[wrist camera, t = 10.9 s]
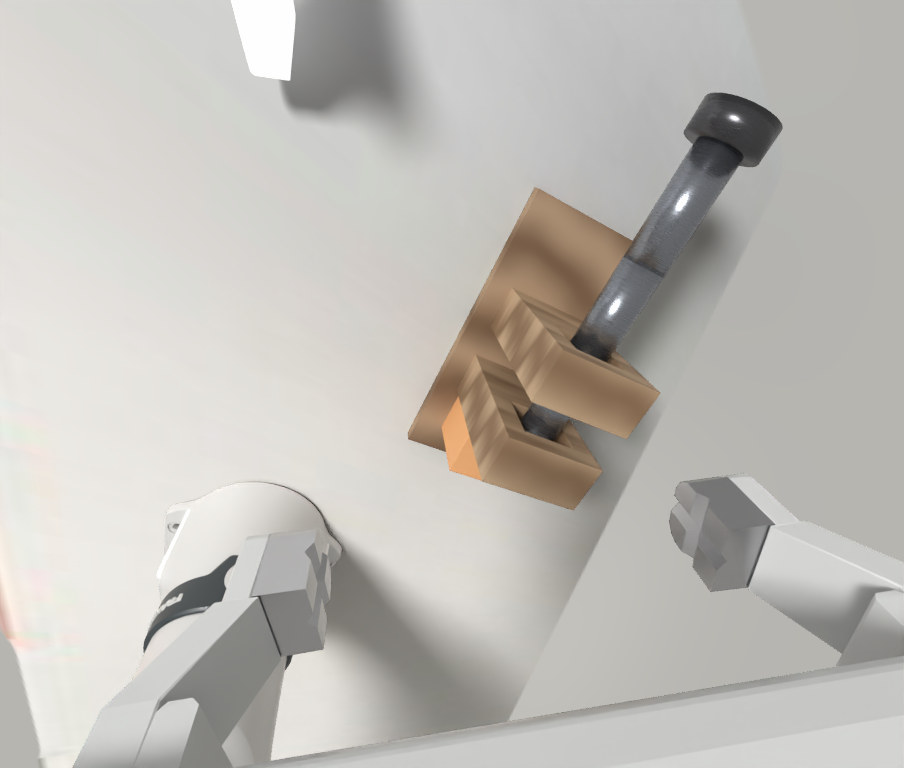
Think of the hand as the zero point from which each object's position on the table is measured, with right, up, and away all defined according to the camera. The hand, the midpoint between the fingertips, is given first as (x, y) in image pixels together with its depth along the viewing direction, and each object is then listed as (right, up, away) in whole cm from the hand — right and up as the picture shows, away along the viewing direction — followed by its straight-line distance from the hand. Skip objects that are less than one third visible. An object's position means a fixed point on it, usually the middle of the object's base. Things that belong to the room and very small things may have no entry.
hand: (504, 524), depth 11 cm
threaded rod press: (+5, +7, +35) cm, 36 cm away
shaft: (+10, +10, +24) cm, 28 cm away
